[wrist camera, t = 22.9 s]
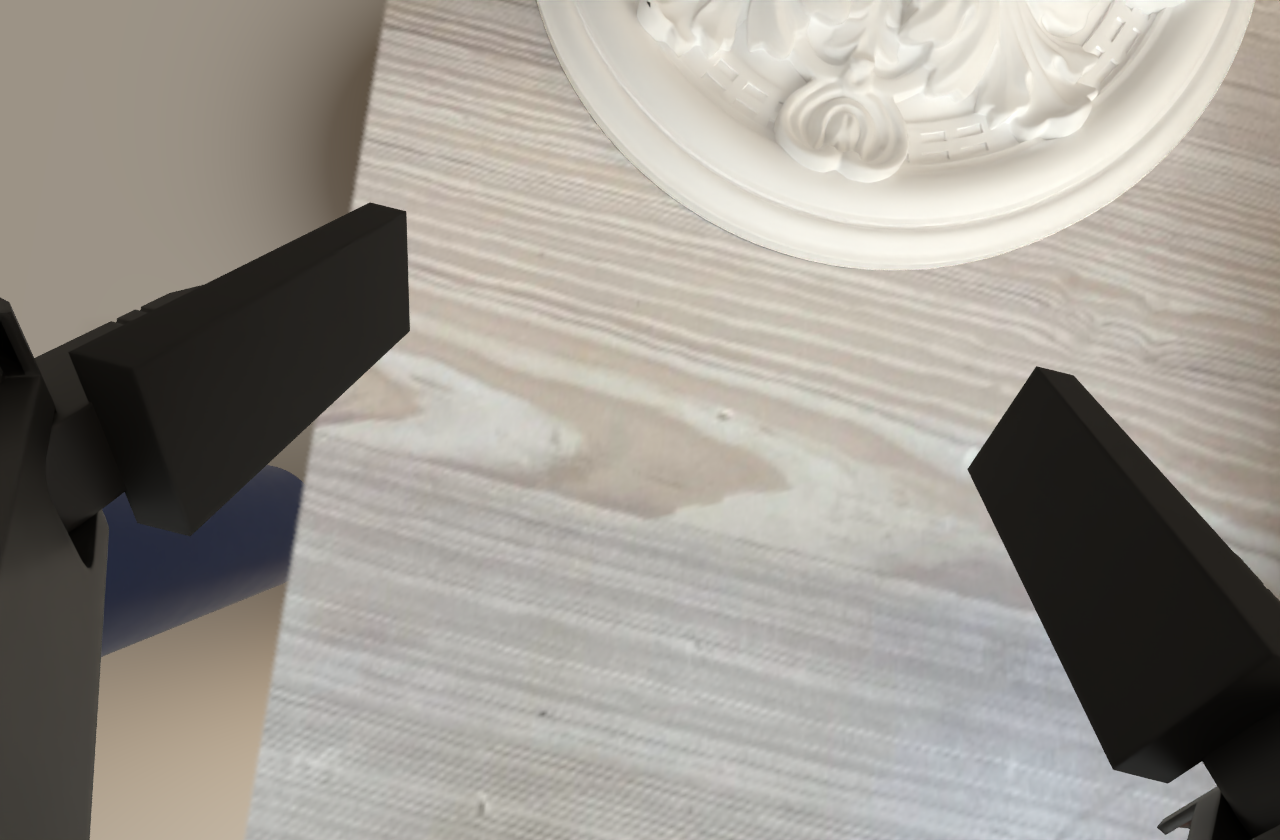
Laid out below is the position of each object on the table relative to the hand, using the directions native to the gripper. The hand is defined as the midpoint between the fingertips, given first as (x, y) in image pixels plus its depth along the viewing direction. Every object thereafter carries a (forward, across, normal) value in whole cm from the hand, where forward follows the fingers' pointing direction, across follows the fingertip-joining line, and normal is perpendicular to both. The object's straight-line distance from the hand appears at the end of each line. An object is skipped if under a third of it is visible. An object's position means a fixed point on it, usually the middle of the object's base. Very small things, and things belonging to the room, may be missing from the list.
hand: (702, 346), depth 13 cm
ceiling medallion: (+20, +4, +10) cm, 23 cm away
